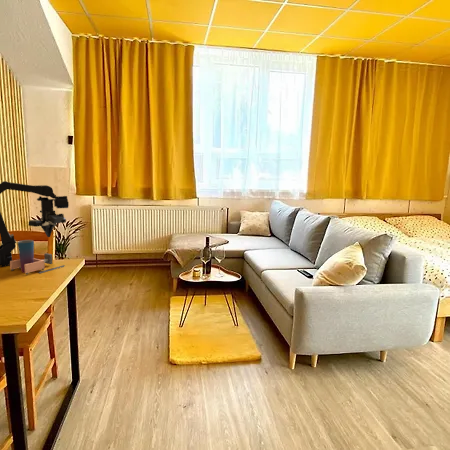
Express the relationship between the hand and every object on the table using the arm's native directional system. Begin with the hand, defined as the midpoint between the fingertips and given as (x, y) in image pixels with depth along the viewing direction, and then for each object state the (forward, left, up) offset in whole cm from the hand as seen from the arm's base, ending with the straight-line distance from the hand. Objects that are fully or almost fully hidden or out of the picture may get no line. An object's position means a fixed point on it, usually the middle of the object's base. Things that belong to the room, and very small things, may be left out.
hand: (48, 237), depth 182 cm
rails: (+9, -11, -13) cm, 19 cm away
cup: (+9, -19, -13) cm, 25 cm away
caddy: (+9, -15, -13) cm, 22 cm away
